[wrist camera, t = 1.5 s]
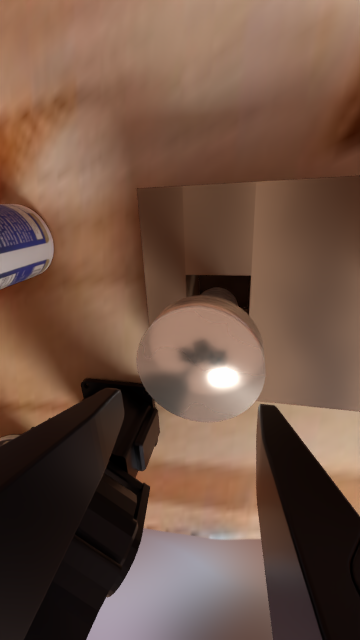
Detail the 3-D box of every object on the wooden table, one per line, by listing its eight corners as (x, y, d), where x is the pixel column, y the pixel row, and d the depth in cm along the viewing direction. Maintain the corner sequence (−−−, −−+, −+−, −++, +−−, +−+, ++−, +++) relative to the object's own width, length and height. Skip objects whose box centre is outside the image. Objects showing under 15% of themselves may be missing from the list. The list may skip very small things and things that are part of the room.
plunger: (178, 341, 17) (142, 414, 11) (175, 266, 15) (130, 307, 9) (257, 346, 16) (260, 429, 10) (262, 266, 14) (270, 312, 8)
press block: (171, 356, 23) (155, 390, 19) (161, 190, 18) (136, 188, 14) (437, 376, 19) (488, 424, 15) (510, 171, 14) (611, 161, 10)
